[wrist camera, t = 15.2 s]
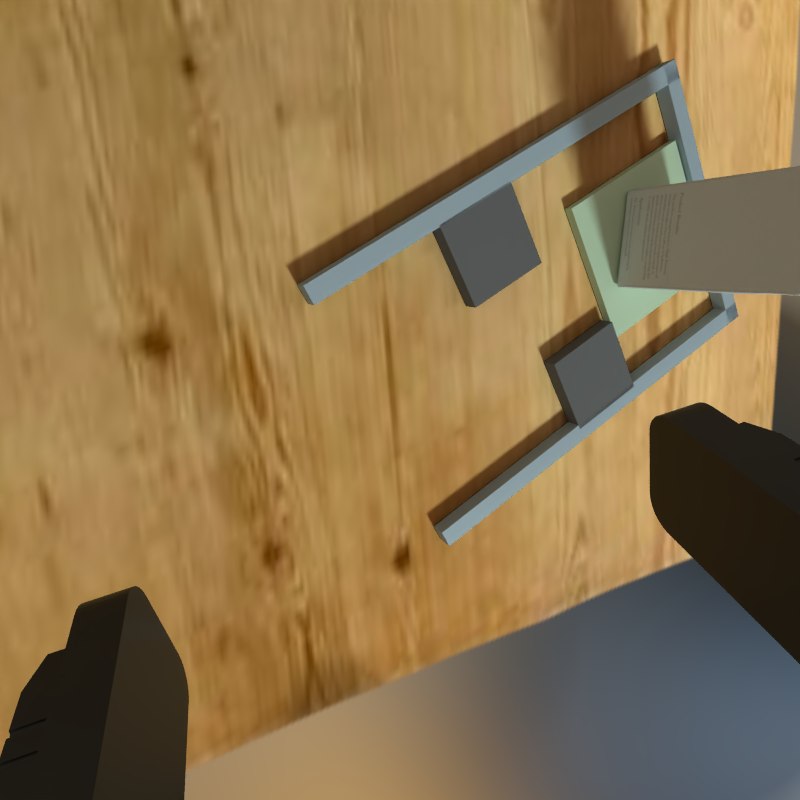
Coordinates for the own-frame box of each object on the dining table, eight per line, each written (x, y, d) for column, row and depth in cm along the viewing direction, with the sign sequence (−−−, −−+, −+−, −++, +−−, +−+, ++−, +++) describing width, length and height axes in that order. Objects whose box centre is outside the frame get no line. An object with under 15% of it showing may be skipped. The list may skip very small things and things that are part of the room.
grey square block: (466, 306, 36) (475, 307, 35) (430, 225, 34) (439, 225, 33) (530, 262, 37) (541, 262, 36) (500, 182, 35) (510, 181, 34)
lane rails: (441, 539, 39) (449, 546, 38) (297, 284, 32) (303, 285, 31) (725, 314, 46) (738, 316, 45) (661, 63, 38) (675, 58, 37)
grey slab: (569, 425, 41) (580, 429, 40) (543, 362, 39) (554, 364, 38) (622, 383, 43) (634, 386, 42) (600, 320, 41) (611, 321, 40)
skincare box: (661, 289, 42) (858, 303, 31) (610, 287, 40) (801, 302, 29) (674, 191, 40) (884, 171, 30) (621, 184, 38) (826, 160, 28)
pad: (609, 337, 41) (616, 338, 41) (564, 209, 38) (571, 208, 37) (701, 268, 44) (708, 268, 43) (667, 141, 40) (675, 139, 39)
